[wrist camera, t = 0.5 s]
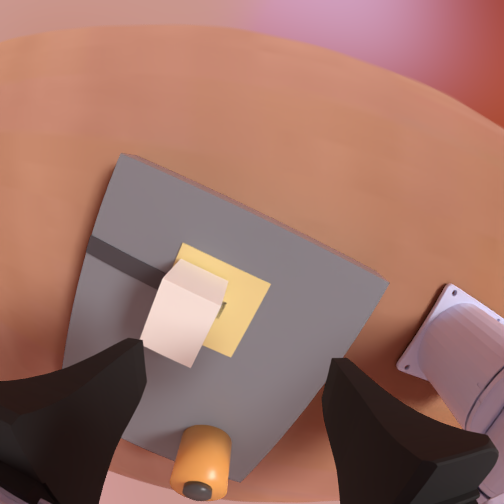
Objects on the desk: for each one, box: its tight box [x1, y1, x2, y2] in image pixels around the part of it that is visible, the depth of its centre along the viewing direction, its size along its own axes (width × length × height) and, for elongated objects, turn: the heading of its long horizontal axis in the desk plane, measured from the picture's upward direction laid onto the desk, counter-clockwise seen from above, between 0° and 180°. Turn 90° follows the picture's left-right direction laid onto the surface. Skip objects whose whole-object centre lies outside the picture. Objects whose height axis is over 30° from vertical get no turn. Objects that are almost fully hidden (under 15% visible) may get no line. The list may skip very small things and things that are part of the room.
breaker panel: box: [62, 153, 389, 482], centre depth 20 cm, size 18×22×4 cm
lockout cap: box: [170, 425, 232, 501], centre depth 19 cm, size 4×4×6 cm
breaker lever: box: [140, 259, 228, 368], centre depth 16 cm, size 3×4×4 cm
